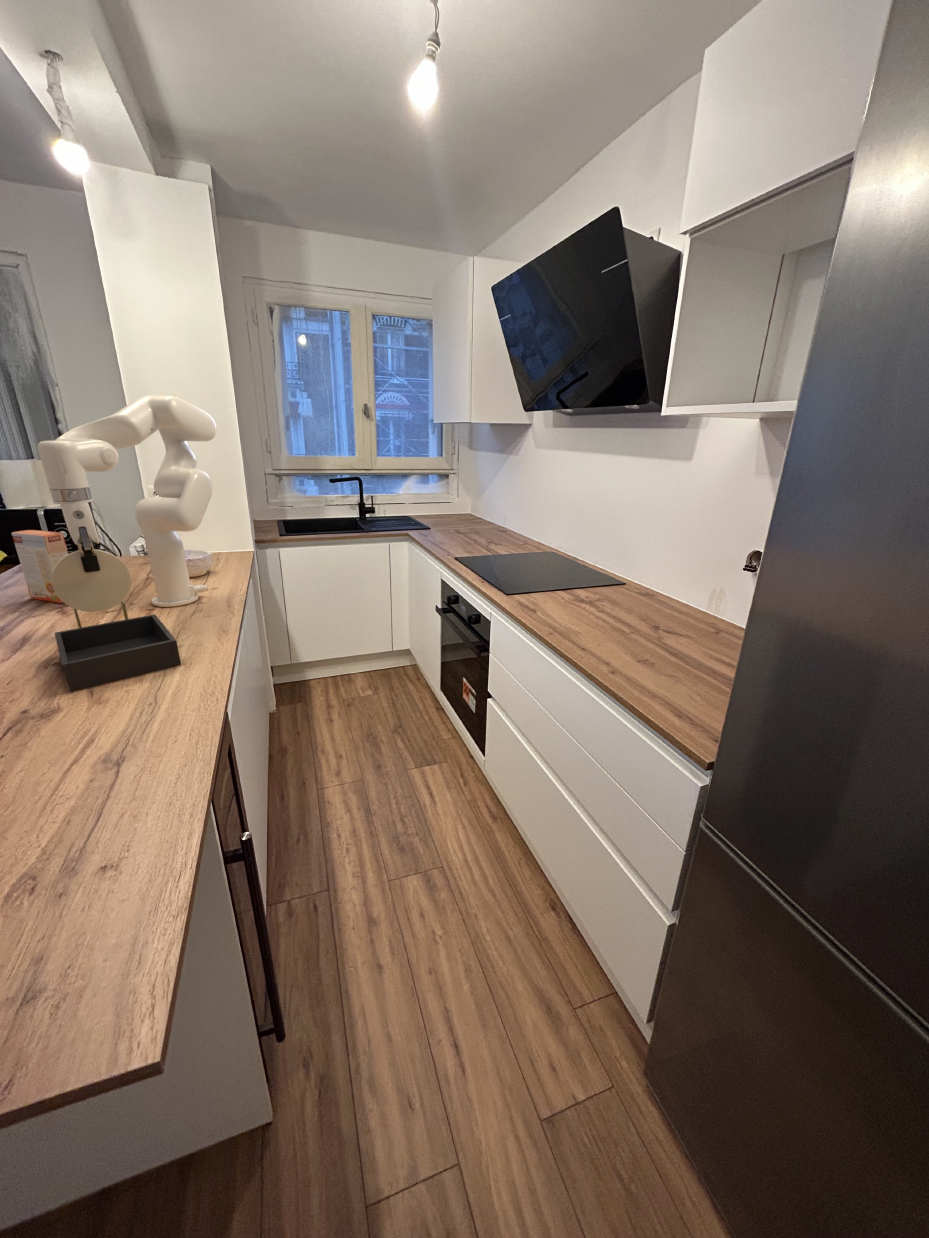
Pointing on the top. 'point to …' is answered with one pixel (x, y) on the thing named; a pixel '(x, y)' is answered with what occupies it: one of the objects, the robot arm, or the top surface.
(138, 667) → the sink basin
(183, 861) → the top surface
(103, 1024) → the top surface
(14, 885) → the top surface
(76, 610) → the drying rack
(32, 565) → the cracker box
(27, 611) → the top surface
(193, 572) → the paper bowls
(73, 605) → the plate
